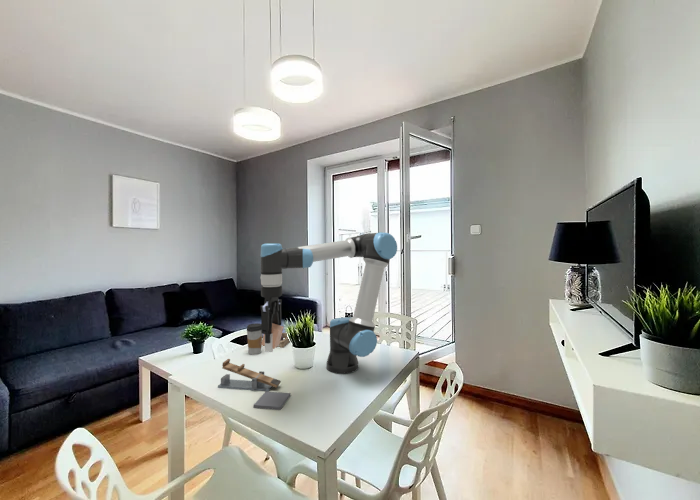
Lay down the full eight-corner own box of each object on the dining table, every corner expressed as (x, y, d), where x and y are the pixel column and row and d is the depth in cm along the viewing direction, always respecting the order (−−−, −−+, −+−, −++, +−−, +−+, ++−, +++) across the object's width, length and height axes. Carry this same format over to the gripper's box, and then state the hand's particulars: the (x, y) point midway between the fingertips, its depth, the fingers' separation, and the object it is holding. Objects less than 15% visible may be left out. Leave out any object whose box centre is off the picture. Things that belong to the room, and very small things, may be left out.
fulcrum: (275, 383, 122) (275, 372, 122) (268, 392, 115) (268, 379, 115) (226, 380, 126) (226, 369, 125) (217, 388, 119) (216, 376, 119)
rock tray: (293, 338, 182) (293, 333, 182) (283, 347, 166) (283, 341, 166) (274, 337, 184) (274, 332, 184) (262, 346, 168) (262, 340, 168)
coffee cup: (258, 356, 153) (257, 327, 153) (243, 355, 155) (243, 326, 155) (265, 350, 161) (265, 323, 161) (251, 349, 163) (251, 322, 163)
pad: (290, 395, 112) (290, 393, 112) (280, 410, 102) (280, 407, 102) (265, 393, 114) (265, 391, 114) (253, 407, 104) (253, 405, 104)
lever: (280, 382, 121) (282, 376, 121) (275, 388, 116) (277, 382, 116) (227, 363, 124) (229, 358, 124) (220, 369, 119) (222, 362, 119)
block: (279, 344, 110) (283, 326, 110) (273, 349, 105) (278, 330, 105) (267, 340, 111) (271, 322, 111) (261, 344, 106) (265, 326, 106)
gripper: (272, 282, 117) (272, 340, 117) (250, 288, 99) (250, 357, 100) (290, 282, 116) (290, 341, 116) (271, 289, 98) (271, 358, 98)
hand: (272, 348), depth 108 cm, fingers closed on block, 5 cm apart
